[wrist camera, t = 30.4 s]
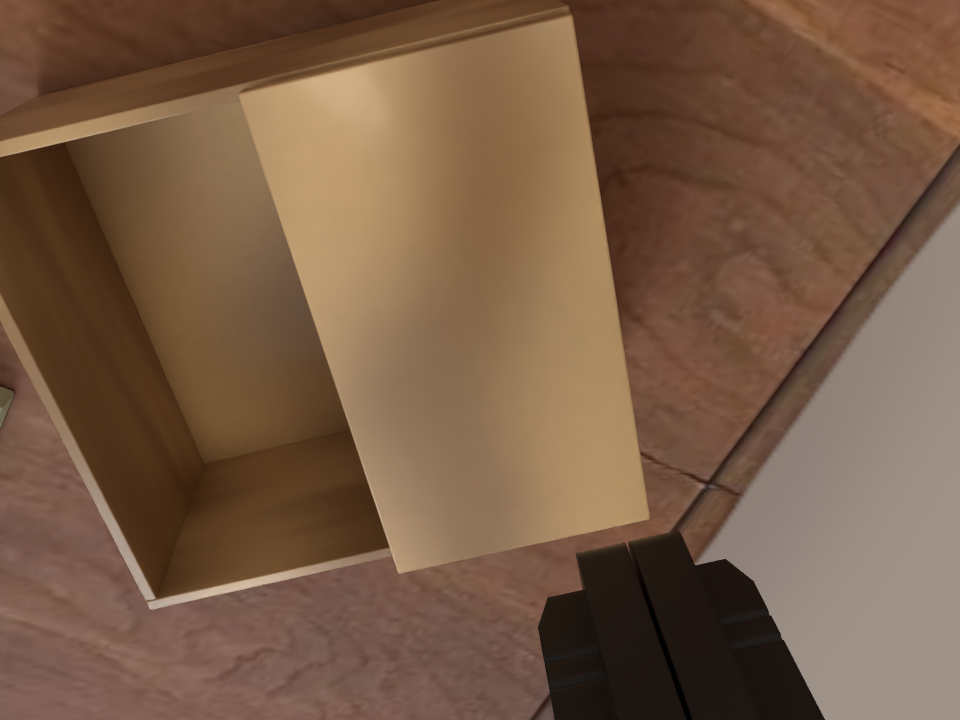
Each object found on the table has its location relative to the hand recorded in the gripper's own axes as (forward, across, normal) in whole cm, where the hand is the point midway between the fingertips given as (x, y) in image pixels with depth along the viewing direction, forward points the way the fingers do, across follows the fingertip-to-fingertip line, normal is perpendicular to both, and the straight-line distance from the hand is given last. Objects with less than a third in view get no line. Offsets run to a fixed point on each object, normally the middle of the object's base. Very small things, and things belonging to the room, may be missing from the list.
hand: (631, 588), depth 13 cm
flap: (+7, +2, -1) cm, 8 cm away
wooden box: (+14, +5, -1) cm, 15 cm away
